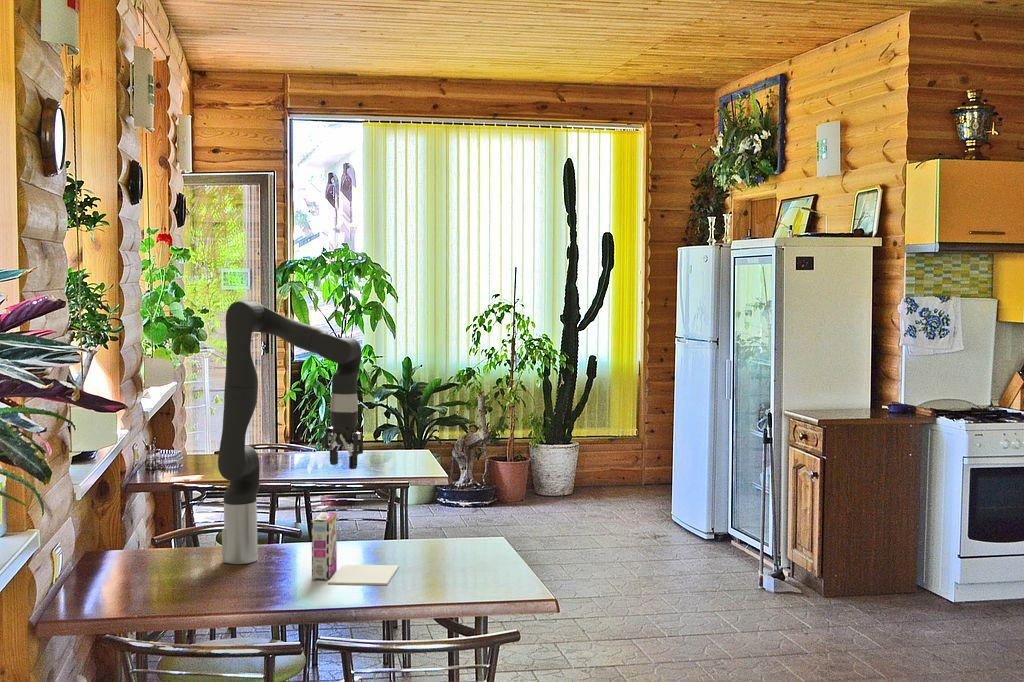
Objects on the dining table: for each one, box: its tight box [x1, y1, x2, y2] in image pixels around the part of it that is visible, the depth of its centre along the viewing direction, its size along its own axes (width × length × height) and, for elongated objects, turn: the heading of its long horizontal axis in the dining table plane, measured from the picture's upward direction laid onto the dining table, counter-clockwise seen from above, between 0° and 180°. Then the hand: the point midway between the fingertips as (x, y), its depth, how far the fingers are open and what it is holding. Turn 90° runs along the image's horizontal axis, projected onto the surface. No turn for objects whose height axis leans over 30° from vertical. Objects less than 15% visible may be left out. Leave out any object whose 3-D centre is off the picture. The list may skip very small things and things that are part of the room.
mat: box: [327, 564, 400, 586], centre depth 296 cm, size 16×18×1 cm
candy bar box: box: [311, 511, 338, 581], centre depth 296 cm, size 11×5×16 cm, turn 178°
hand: (343, 466), depth 302 cm, fingers open, 8 cm apart
